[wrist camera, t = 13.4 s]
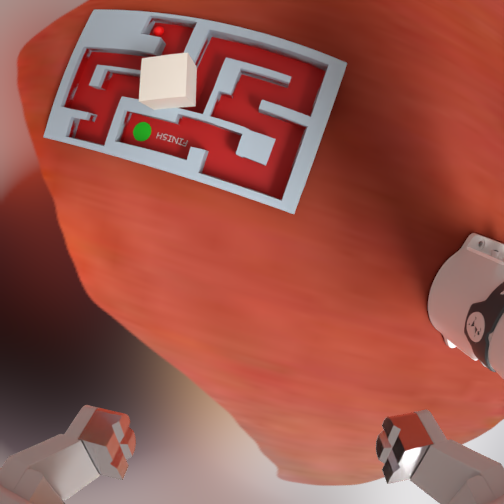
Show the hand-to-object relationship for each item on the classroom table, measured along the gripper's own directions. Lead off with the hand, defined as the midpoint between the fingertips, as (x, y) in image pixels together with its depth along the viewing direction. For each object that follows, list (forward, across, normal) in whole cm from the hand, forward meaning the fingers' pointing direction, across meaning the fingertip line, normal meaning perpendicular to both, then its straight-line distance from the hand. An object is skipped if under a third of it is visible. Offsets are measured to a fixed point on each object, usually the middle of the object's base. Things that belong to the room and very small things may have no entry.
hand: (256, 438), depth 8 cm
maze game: (+32, +10, -18) cm, 38 cm away
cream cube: (+28, +10, -18) cm, 35 cm away
